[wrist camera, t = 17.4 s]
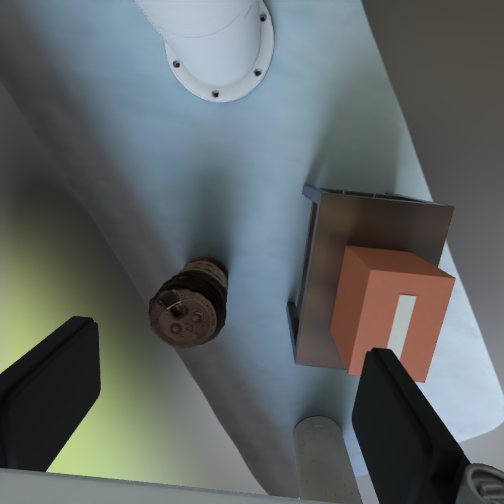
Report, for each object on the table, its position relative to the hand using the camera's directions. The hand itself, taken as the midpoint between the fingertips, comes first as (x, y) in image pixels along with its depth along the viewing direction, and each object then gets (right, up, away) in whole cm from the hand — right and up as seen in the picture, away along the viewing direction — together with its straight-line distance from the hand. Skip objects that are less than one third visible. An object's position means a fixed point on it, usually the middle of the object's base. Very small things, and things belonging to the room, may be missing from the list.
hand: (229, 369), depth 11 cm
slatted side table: (+13, +4, +32) cm, 35 cm away
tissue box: (+12, 0, +20) cm, 23 cm away
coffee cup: (-6, +1, +34) cm, 34 cm away
